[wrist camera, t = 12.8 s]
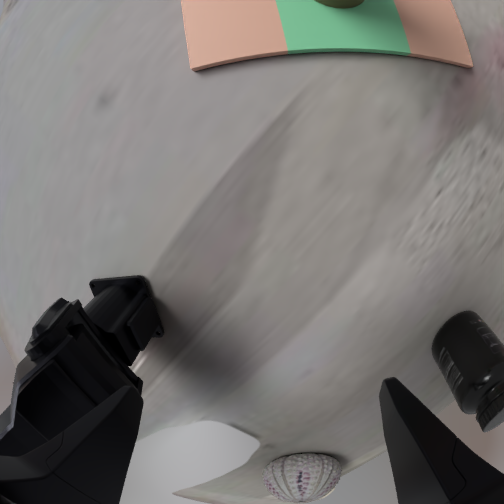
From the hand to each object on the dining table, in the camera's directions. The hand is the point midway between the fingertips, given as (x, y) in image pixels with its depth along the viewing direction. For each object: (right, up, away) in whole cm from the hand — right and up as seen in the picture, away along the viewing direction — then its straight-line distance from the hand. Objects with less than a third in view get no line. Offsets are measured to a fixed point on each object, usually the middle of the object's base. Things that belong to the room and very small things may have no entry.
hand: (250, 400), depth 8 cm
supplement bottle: (+22, -4, +14) cm, 26 cm away
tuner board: (+6, +24, +3) cm, 25 cm away
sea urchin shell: (+9, -30, +27) cm, 41 cm away
